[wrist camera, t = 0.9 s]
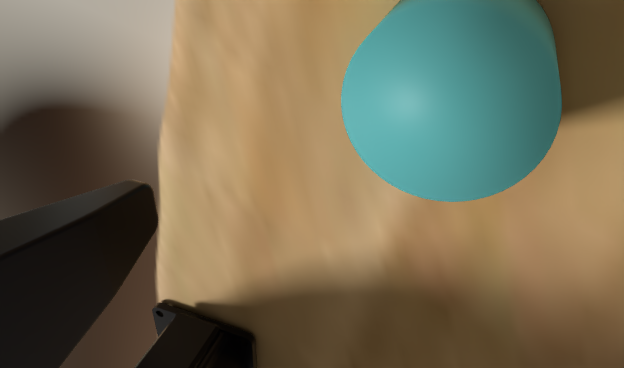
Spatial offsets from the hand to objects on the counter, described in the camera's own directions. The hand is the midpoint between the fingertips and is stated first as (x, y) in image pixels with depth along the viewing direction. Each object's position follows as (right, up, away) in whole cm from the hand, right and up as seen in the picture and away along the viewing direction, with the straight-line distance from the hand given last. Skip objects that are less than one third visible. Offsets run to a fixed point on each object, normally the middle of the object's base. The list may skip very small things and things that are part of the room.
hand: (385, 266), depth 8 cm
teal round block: (+4, +5, +8) cm, 10 cm away
